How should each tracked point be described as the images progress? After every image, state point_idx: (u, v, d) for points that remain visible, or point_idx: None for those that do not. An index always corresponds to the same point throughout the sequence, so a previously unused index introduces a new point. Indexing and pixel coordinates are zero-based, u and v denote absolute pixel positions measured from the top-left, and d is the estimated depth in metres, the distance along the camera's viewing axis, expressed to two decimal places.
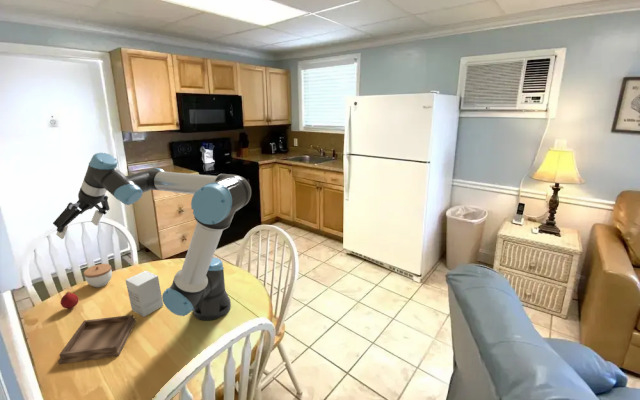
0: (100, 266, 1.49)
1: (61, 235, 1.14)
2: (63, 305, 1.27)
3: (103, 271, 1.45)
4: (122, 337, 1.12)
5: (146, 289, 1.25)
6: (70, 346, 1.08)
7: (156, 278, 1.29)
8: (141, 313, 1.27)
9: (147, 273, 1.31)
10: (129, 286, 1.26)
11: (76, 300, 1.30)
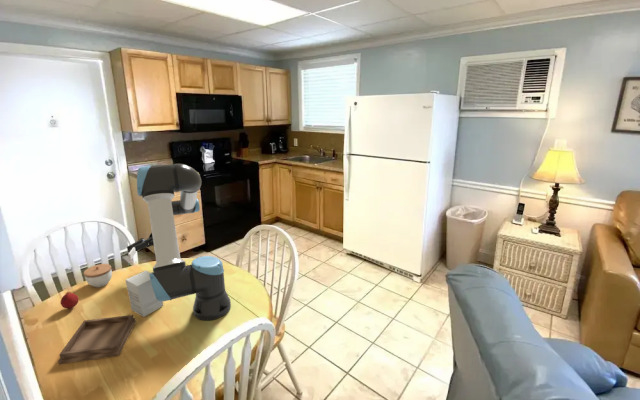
0: (100, 266, 1.49)
1: None
2: (63, 305, 1.27)
3: (103, 271, 1.45)
4: (122, 337, 1.12)
5: (146, 289, 1.25)
6: (70, 346, 1.08)
7: None
8: (141, 313, 1.27)
9: (147, 273, 1.31)
10: (129, 286, 1.26)
11: (76, 300, 1.30)
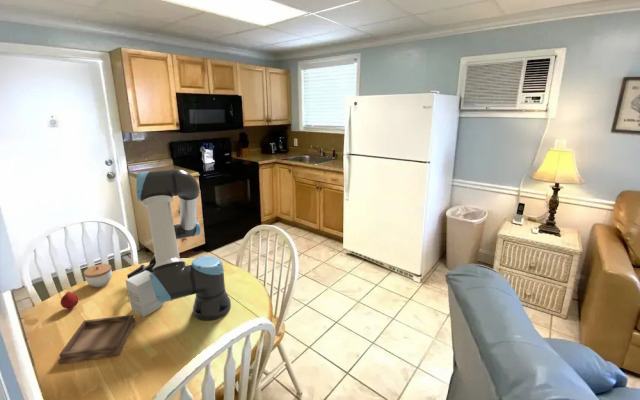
0: (100, 266, 1.49)
1: None
2: (63, 305, 1.27)
3: (103, 271, 1.45)
4: (122, 337, 1.12)
5: (146, 289, 1.25)
6: (70, 346, 1.08)
7: None
8: (141, 313, 1.27)
9: (147, 273, 1.31)
10: (129, 286, 1.26)
11: (76, 300, 1.30)
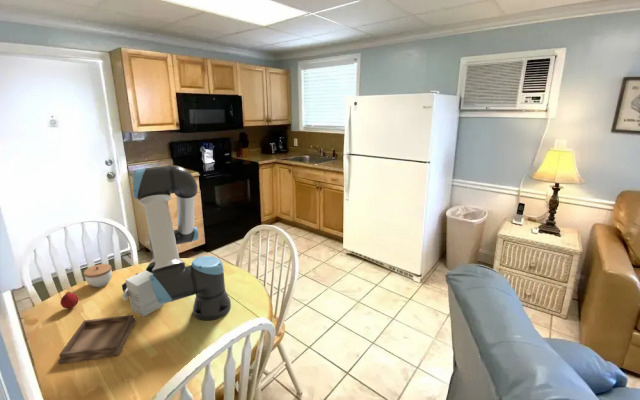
0: (100, 266, 1.49)
1: None
2: (63, 305, 1.27)
3: (103, 271, 1.45)
4: (122, 337, 1.12)
5: (146, 289, 1.25)
6: (70, 346, 1.08)
7: None
8: (141, 313, 1.27)
9: (147, 273, 1.30)
10: (128, 286, 1.26)
11: (76, 300, 1.30)
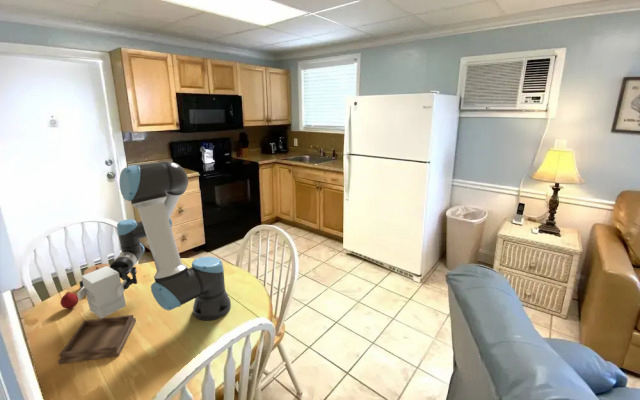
0: (100, 266, 1.49)
1: None
2: (63, 305, 1.27)
3: None
4: (122, 337, 1.12)
5: (103, 288, 1.10)
6: (70, 346, 1.08)
7: (116, 275, 1.13)
8: (98, 314, 1.11)
9: (107, 269, 1.15)
10: (84, 283, 1.11)
11: (76, 300, 1.30)
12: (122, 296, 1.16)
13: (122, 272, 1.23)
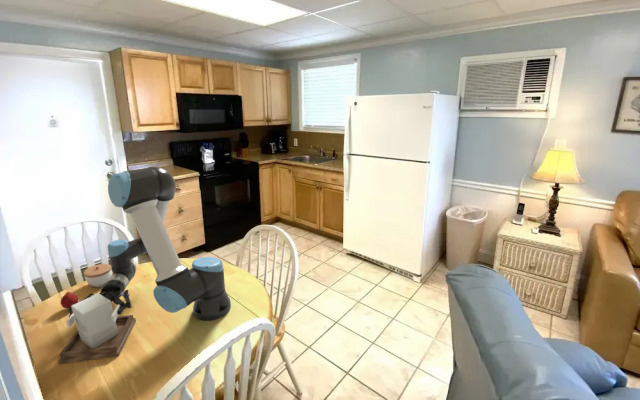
0: (100, 266, 1.49)
1: None
2: (63, 305, 1.27)
3: (103, 271, 1.45)
4: (122, 337, 1.12)
5: (95, 317, 1.07)
6: (70, 346, 1.08)
7: (108, 303, 1.10)
8: (90, 344, 1.08)
9: (99, 297, 1.12)
10: (75, 313, 1.07)
11: (76, 300, 1.30)
12: (114, 324, 1.13)
13: (114, 296, 1.19)
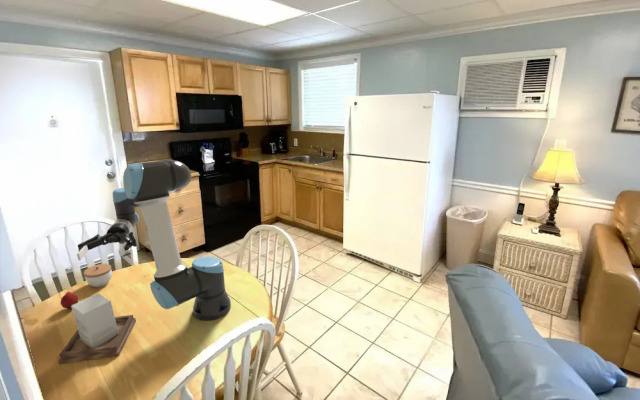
0: (100, 266, 1.49)
1: None
2: (63, 305, 1.27)
3: (103, 271, 1.45)
4: (122, 337, 1.12)
5: (95, 317, 1.07)
6: (70, 346, 1.08)
7: (108, 303, 1.10)
8: (90, 344, 1.08)
9: (99, 297, 1.12)
10: (75, 313, 1.07)
11: (76, 300, 1.30)
12: (114, 324, 1.13)
13: (120, 236, 1.26)
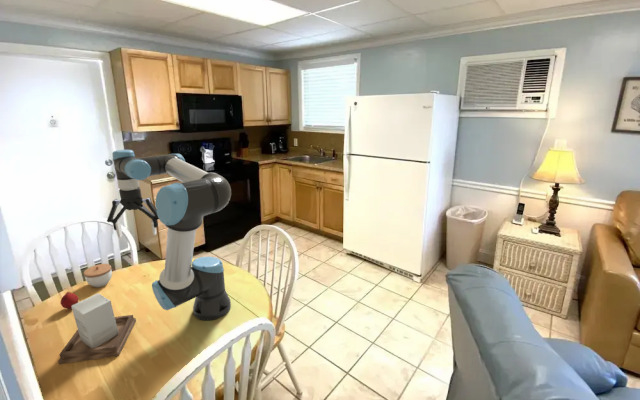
0: (100, 266, 1.49)
1: None
2: (63, 305, 1.27)
3: (103, 271, 1.45)
4: (122, 337, 1.12)
5: (95, 317, 1.07)
6: (70, 346, 1.08)
7: (108, 303, 1.10)
8: (90, 344, 1.08)
9: (99, 297, 1.12)
10: (75, 313, 1.07)
11: (76, 300, 1.30)
12: (114, 324, 1.13)
13: (141, 209, 1.29)
